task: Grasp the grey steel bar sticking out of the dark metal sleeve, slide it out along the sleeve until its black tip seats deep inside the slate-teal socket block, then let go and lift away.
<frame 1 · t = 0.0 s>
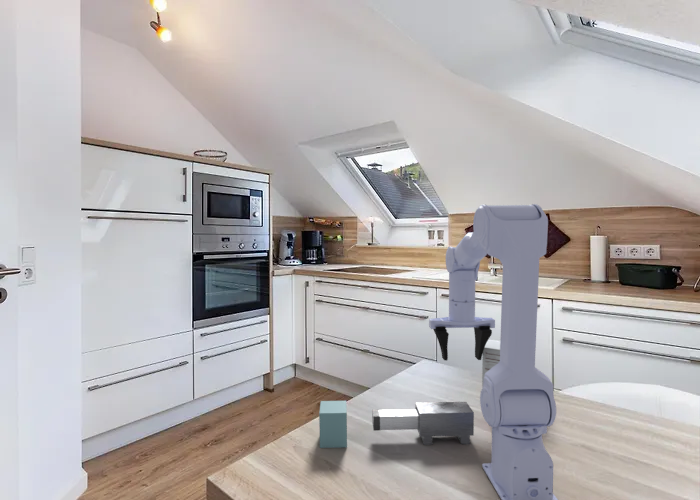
hand: (461, 358, 88), 10 cm above the table, tool pointing down, fingers open, 7 cm apart
sleeve: (443, 437, 74), on the table
extension bar: (417, 419, 74), point 4 cm above the table, slide at 0.0 cm
socket: (333, 440, 73), on the table
supplement box: (500, 398, 91), on the table
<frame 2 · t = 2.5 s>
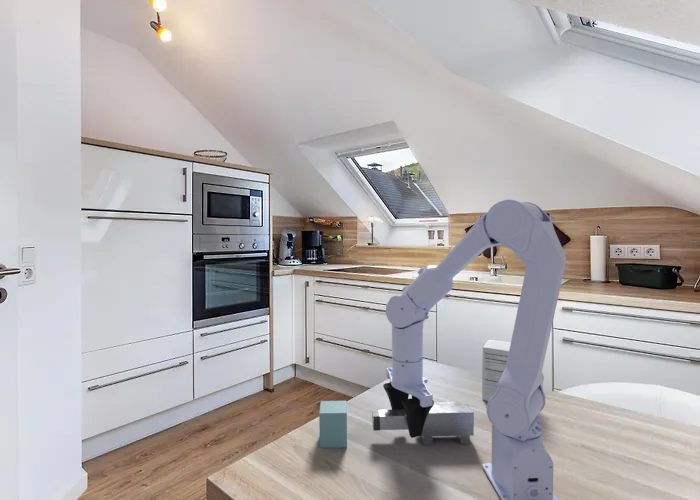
hand: (407, 427, 74), 2 cm above the table, tool pointing down, fingers open, 6 cm apart
nothing on the table moved.
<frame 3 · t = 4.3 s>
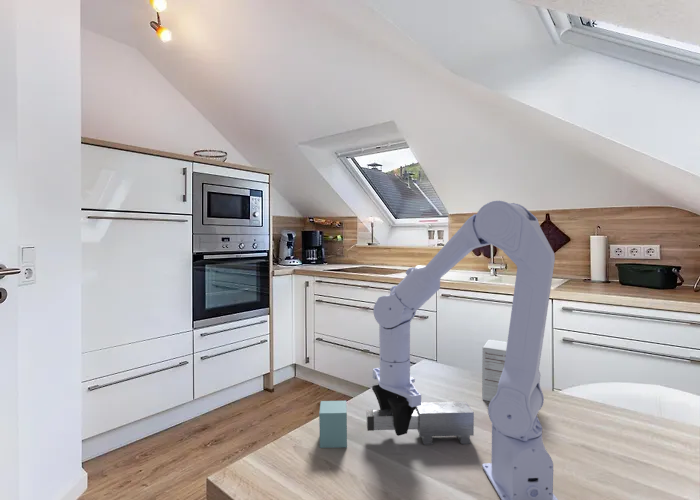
hand: (394, 427, 74), 2 cm above the table, tool pointing down, fingers closed on extension bar, 4 cm apart
extension bar: (411, 419, 74), point 4 cm above the table, slide at 1.1 cm, touching gripper
everything else where it was.
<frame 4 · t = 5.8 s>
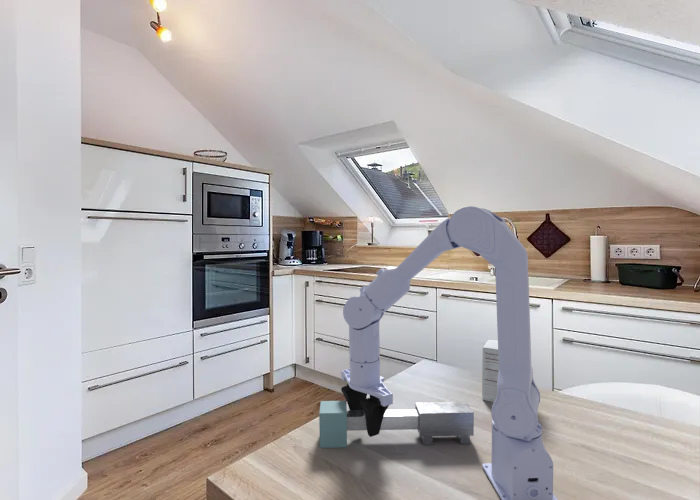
hand: (365, 428, 73), 2 cm above the table, tool pointing down, fingers closed on extension bar, 5 cm apart
extension bar: (383, 419, 73), point 4 cm above the table, slide at 6.4 cm, touching gripper
everything else where it was.
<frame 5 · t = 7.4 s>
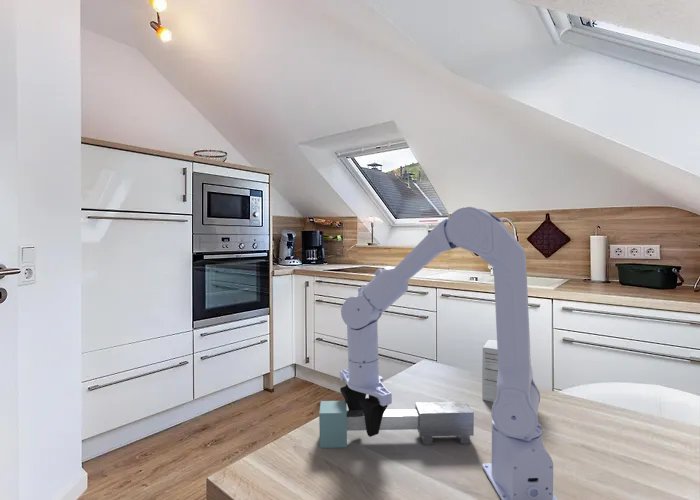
hand: (365, 428, 73), 2 cm above the table, tool pointing down, fingers closed on extension bar, 5 cm apart
extension bar: (383, 419, 73), point 4 cm above the table, slide at 6.5 cm, touching gripper
everything else where it was.
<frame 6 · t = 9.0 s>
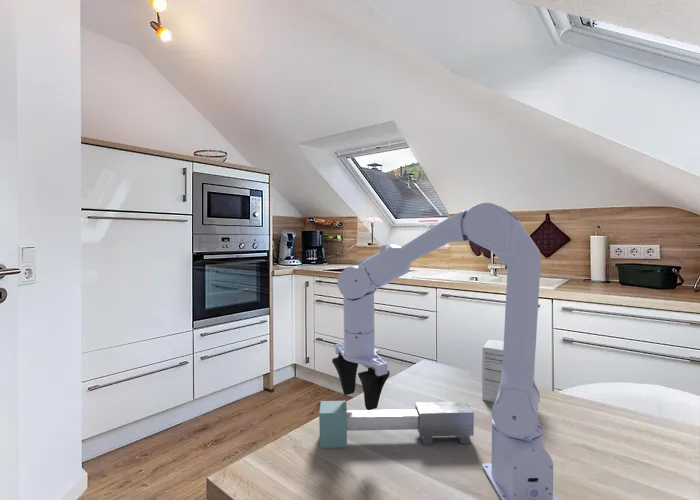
hand: (359, 400, 73), 8 cm above the table, tool pointing down, fingers open, 7 cm apart
extension bar: (382, 419, 73), point 4 cm above the table, slide at 6.7 cm
everything else where it was.
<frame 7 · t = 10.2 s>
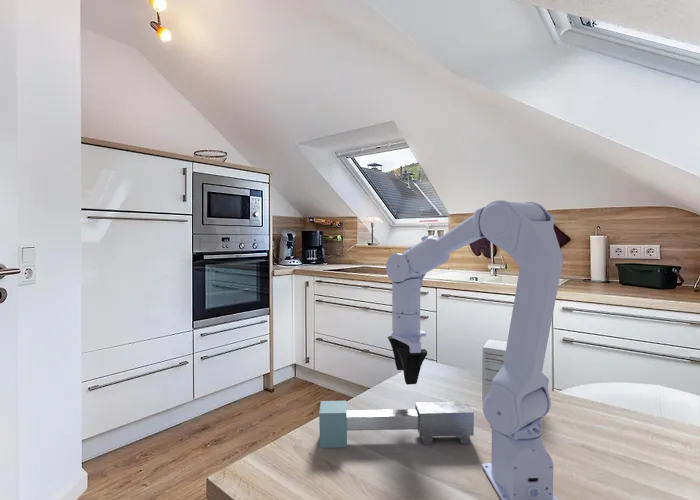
hand: (406, 376, 80), 9 cm above the table, tool pointing down, fingers open, 7 cm apart
nothing on the table moved.
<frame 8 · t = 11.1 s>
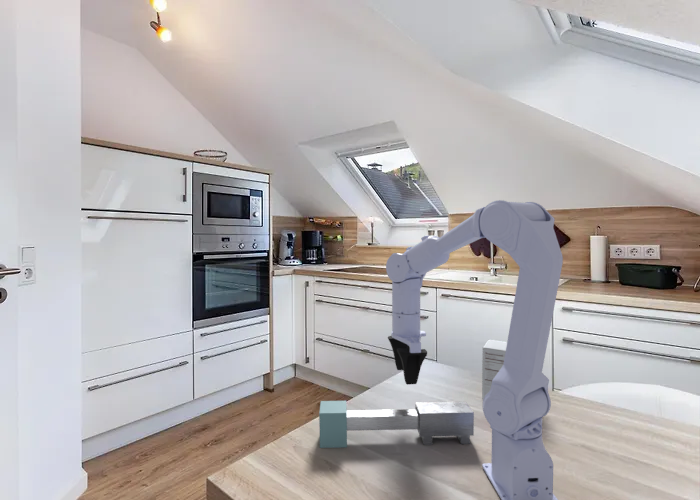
hand: (406, 376, 80), 9 cm above the table, tool pointing down, fingers open, 7 cm apart
nothing on the table moved.
at the end: extension bar slide at 6.7 cm; the gripper is holding nothing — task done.
